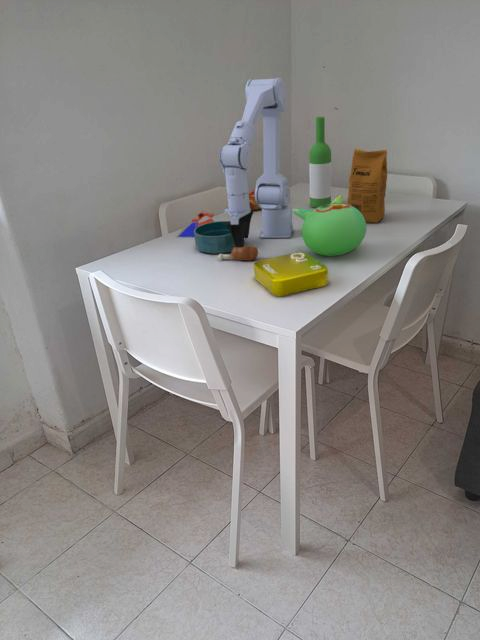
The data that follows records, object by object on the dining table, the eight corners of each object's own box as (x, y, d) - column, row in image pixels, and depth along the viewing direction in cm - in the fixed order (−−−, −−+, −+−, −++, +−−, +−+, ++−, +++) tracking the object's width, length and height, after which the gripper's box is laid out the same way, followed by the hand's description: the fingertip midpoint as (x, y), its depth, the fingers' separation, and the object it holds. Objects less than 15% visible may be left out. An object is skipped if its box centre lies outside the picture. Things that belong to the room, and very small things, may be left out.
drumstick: (259, 257, 142) (258, 243, 140) (257, 262, 139) (256, 248, 137) (220, 257, 144) (218, 244, 142) (216, 262, 141) (215, 248, 139)
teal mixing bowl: (248, 237, 157) (246, 220, 154) (239, 254, 145) (237, 236, 142) (203, 238, 160) (200, 221, 157) (190, 254, 147) (187, 237, 144)
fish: (195, 208, 171) (219, 208, 169) (197, 222, 173) (220, 222, 171) (183, 220, 160) (208, 219, 158) (185, 234, 162) (210, 234, 161)
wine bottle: (306, 207, 182) (304, 118, 167) (315, 202, 188) (315, 115, 172) (325, 209, 179) (325, 118, 163) (334, 203, 184) (335, 115, 169)
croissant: (273, 206, 198) (265, 187, 197) (291, 197, 191) (283, 177, 189) (238, 219, 184) (230, 199, 183) (256, 210, 177) (247, 188, 176)
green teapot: (319, 268, 132) (319, 214, 124) (291, 250, 145) (289, 199, 137) (376, 255, 137) (379, 202, 130) (343, 238, 151) (345, 189, 143)
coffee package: (354, 212, 173) (356, 145, 162) (388, 216, 167) (393, 147, 155) (342, 220, 166) (343, 151, 155) (377, 225, 160) (381, 153, 148)
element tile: (252, 277, 130) (250, 260, 127) (303, 265, 134) (302, 248, 132) (276, 298, 118) (275, 280, 115) (330, 285, 122) (331, 266, 120)
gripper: (228, 186, 138) (233, 234, 145) (216, 200, 126) (222, 251, 133) (253, 186, 137) (256, 233, 144) (244, 199, 125) (248, 251, 132)
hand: (242, 242), depth 138 cm, fingers open, 7 cm apart
